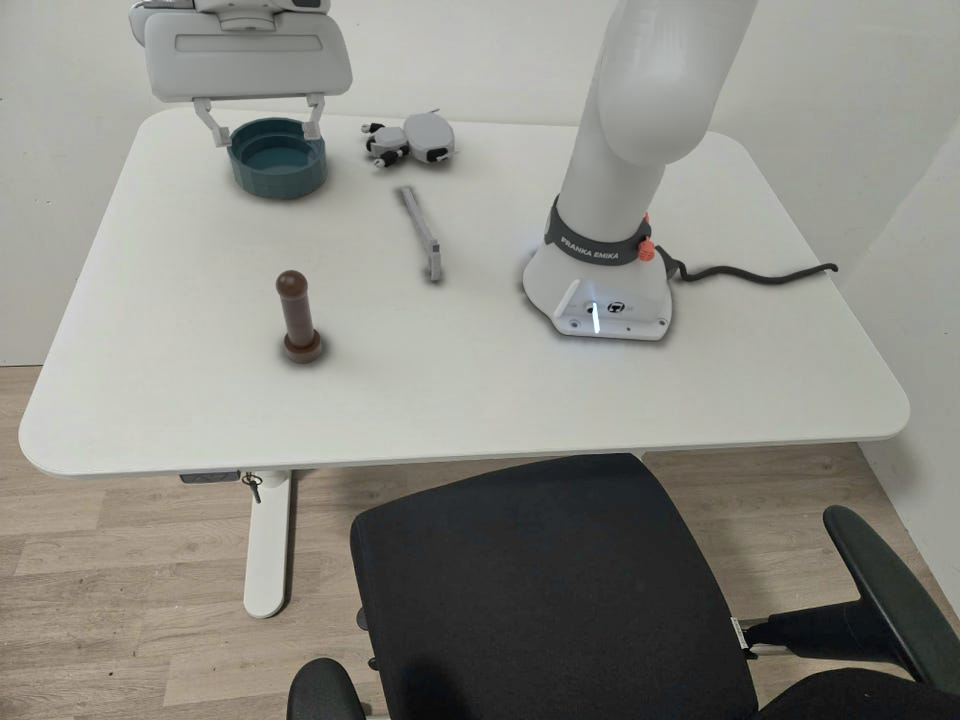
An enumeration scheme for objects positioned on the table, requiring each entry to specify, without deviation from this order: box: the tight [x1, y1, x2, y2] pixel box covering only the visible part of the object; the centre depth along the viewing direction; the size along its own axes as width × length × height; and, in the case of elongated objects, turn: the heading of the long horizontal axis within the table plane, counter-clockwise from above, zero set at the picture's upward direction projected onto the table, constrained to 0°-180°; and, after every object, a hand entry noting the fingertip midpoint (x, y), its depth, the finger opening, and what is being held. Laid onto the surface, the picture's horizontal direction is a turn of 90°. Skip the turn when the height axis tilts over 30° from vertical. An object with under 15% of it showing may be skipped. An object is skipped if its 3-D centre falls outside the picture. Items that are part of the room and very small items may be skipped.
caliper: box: [400, 187, 442, 281], centre depth 85 cm, size 20×1×6 cm, turn 17°
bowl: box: [226, 116, 328, 200], centre depth 89 cm, size 14×14×5 cm
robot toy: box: [360, 107, 461, 169], centre depth 97 cm, size 12×4×15 cm
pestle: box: [275, 269, 323, 364], centre depth 67 cm, size 4×4×14 cm
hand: (270, 143), depth 62 cm, fingers open, 8 cm apart
